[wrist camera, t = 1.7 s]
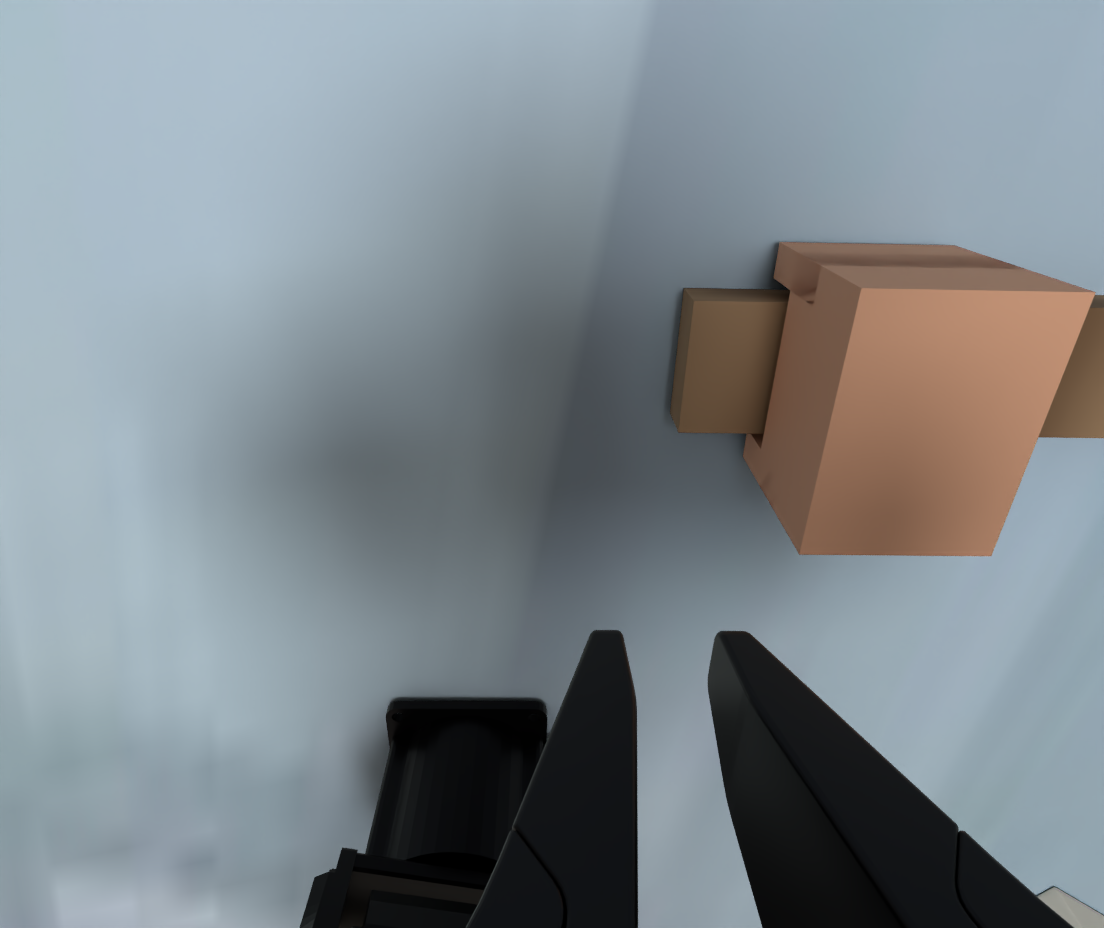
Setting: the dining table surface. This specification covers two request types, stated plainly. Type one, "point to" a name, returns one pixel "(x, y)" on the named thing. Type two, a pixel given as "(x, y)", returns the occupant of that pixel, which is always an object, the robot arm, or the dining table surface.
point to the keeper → (908, 395)
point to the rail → (752, 352)
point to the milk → (1072, 909)
